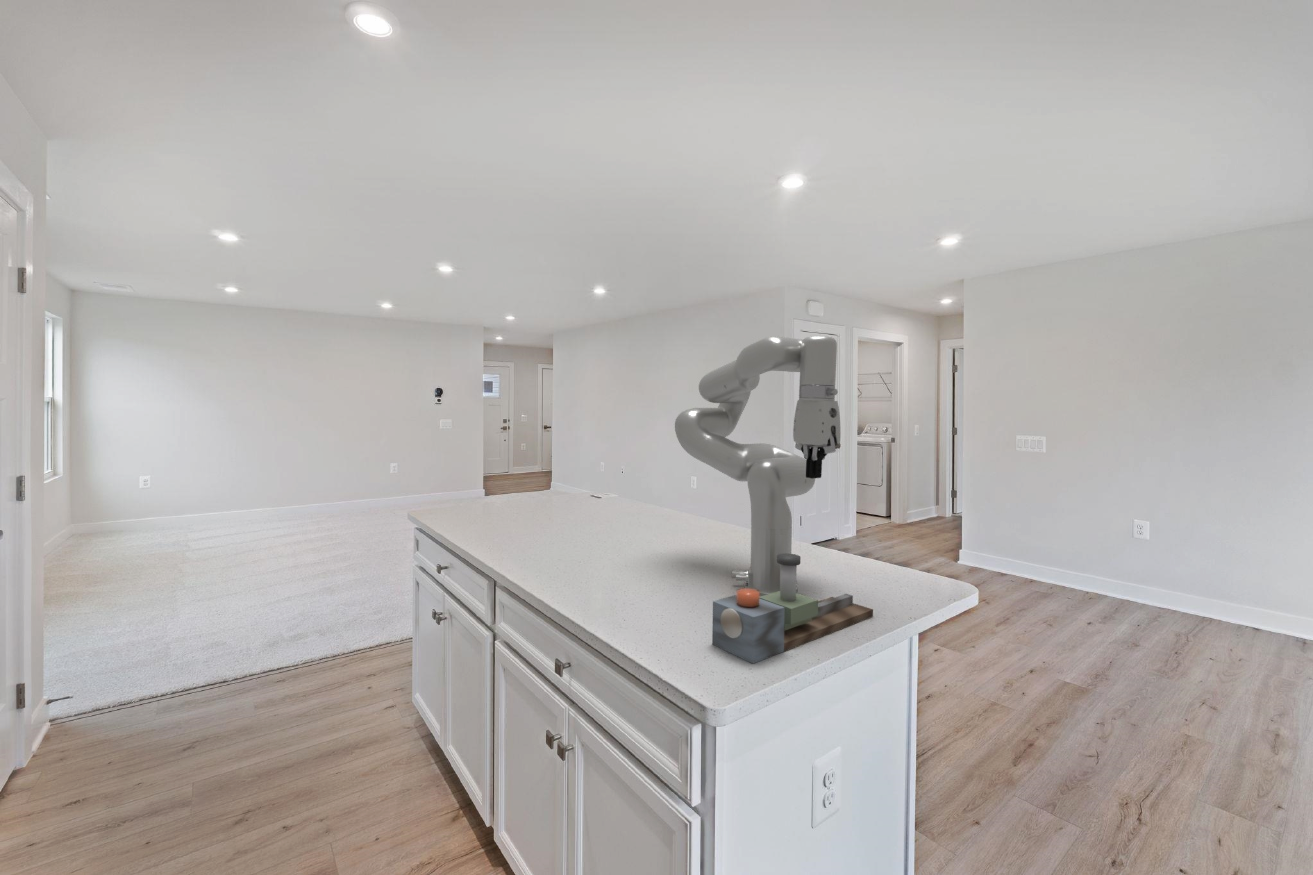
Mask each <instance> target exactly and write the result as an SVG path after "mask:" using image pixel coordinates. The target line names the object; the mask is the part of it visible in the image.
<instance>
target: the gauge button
mask: <svg viewBox="0 0 1313 875" xmlns="http://www.w3.org/2000/svg"><path fill="white" fill-rule="evenodd" d="M736 595H737V604H738V605H741V606H745V607H755V606H758V605H759V597H760V596H759V591H757V590H754V589H744V588H740V589H738V590H737V591H736Z"/></svg>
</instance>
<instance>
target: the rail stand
mask: <svg viewBox="0 0 1313 875" xmlns="http://www.w3.org/2000/svg"><path fill="white" fill-rule="evenodd" d="M853 598H854V595H852V594H849V593H845V594H841V595H838V596H836V597H835V596H829V597H827V598H824V599H821V600H818V616H815V617H812V621H810V622H807V623H805V624H802V625H799V626H796V627H793V628H791V629H788V630H785V631H784V613H785V607H782V606H779V605H776V604H774V603H771V602H768V601H765V600H762V599H759V605H758V606H755V607H745V606H741V605H738V604H737V594H734V595H730V596H727V597H723V598H719V599H715V600H712V630H711V631H712V632H711V634H712V635H711V637H712V642H711V643H712V645H713V646H715V647H717V648H719V649H721V650H723V651H725V652H727V653H730V654H732V655H733V656H736V657H737V658H738V657H739V658H740V659H742V660H744V661H746V662H749V663H751V664H756V663H759V662H761V661H764V660H767V659H768V658H771V657H773V656H776V655H779V654H781V653H783V652H786V651H789V650H792V649H794V648H796V647H799V646H802V645H804V644H807V643H809V642H812V641H813V640H817V639H819V638H823V637H824V636H827V635H830V634H832V633H834V632H838V631H839V630H842V629H844V628H848V627H850V626H852V625H855V624H858V623H860V622H862V621H865V620H868V619H870V618H873V617H874V609H873V608H869V607H867V606H863V605H860V604H856V603H854V600H853Z"/></svg>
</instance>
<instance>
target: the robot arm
mask: <svg viewBox="0 0 1313 875" xmlns="http://www.w3.org/2000/svg"><path fill="white" fill-rule="evenodd" d="M837 352H838V343H837V340H836V338H834V337H832V336H825V335H822V336H821V335H819V336H818V335H816V336H807V337H804V339H801V338H793V337H792V338H791V337H783V336H769V337H765V338H761V339H759V340H758V341H755V342H753V343H750V344H749V345H747V346H746V347H744V348H743V349H742V350H741V351H740V352H739V354H738V356H737V357H736V359H734V360H733V361H731V362H728V363H727V364H724V365H723V366H720V367H718V368H716V369H714V370H712V371H710V372H707V373H706V374H705V375H704V376H702V377H701V379H700V381H699V384H698V391H699V394H700V396H701V397H702V398H703V399H704V400H705V401H706V402H709V403H713V404H718V407H691V408H689V409H685V410H683V411H682V412H680V413H679V414H678V415H677V417H676V418H675V421H674V431H675V435H676V438H677V440H678V443H679V444H680V446H681V448H682V449H683V450H684V451H685V452H686V453H687V454H689V455H690V456H691V457H693V459H694V458H695V459H696V460H698V461H700V462H702V463H704V464H705V465H708V466H710V467H712V468H713V469H714V470H717V471H719V472H720V473H722V474H724V475H726V476H727V477H728V478H729V477H730V478H731V479H733V480H735V481H737V482H747V488H748V494H749V499H750V526H751V527H750V566H749V569H745V571H744V570H738V569H737V570H735V569H732V572H731V579H735V581H743V582H744V581H745V582H744V583H743V589H754V590H757V591H759V597H760V596H764V595H767V594H771V593H774V592H778V591H780V567H781V564H778V563H777V555H778V554H784V553H788V554H792V544H793V543H792V540H793V539H792V538H793V537H792V535H793V532H792V531H793V526H792V525H793V520H792V519H793V517H792V513H791V512H792V511H791V509H790V506H789V504H788V502H787V498H790V497H797V496H802V495H805V494H806V493H808V492H809V491H811V490H812V488H813V487H814V485H815V483H816V482H815V481H816V479H821V478H822V475H823V474H822V471H823V470H822V468H823V461H824V460H825V458H826V456H827V455H828V454H833V453H835V452H836V450H837V448H836V447H838V446H839V445H840V444H841V416H840V408H839V402H838V400H835V397H836V396H837V394H838V389H837V388H836V378H837V377H836V375H837V374H836V373H837ZM772 371H773V372H774V371H776V372H788V373H790V372H791V373H799V383H798V384H799V387H798V388H799V389H798V399H797V402H796V406H795V412H794V417H793V430H792V431H793V432H792V434H793V435H792V437H793V442H794V443H795V446H794V447H795V449H797V450H799V451H801V452H802V454H803V457H801V456H800V455H798V454H796V453H793V452H790V451H788V450H786V449H783V448H781V447H779V446H778V445H777V446H776V445H773V444H770V443H761V442H760V443H739V442H737V441H733V440H731V439H729V438H727V437H728V436H730V435H731V434H732V433H733V432H734V430H735V429H736V427H737V425H738V424H739V423H738V422H740V419H741V416H742V414H743V413H744V411H745V408H746V407H747V404H748V401H749V399H750V397H751V393H752V391H753V390H755V389H756V388H758V385H759V383H760V378H761V377H760V376H761V375H762V374H765V373H767V372H772ZM796 593H798V586H797V585H796Z"/></svg>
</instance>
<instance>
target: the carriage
mask: <svg viewBox="0 0 1313 875" xmlns="http://www.w3.org/2000/svg"><path fill="white" fill-rule="evenodd" d="M777 563H778V564H781V567H780V591H778V592H774V593H771V594H767V595H764V596H759V599H762V600H765V601H768V602H771V603H774V604H776V605H779V606H782V607H785V613H784V631H785V630H788V629H791V628H793V627H796V626H799V625H802V624H805V623H807V622H810V621H812V617H815V616H818V601H819V599H816V598H813V597H810V596H807V595H804V594H800V593H798V592H797V593H796V586H797V569H798V568H797V566H799V565H801V556H800V555H798V554H796V553H795V554H794V553H791V554H788V553H784V554H778V555H777Z"/></svg>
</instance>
